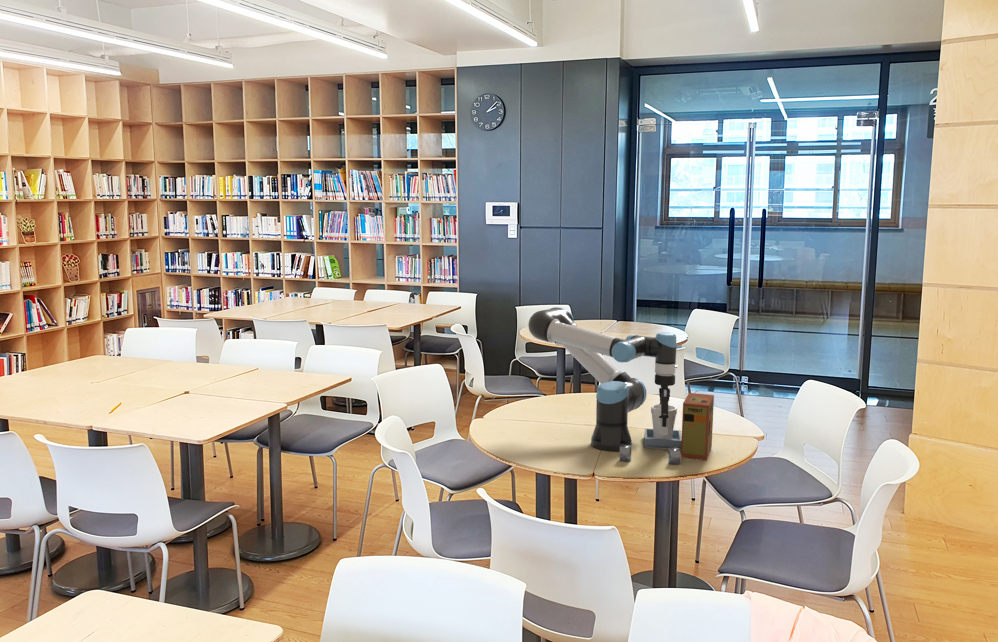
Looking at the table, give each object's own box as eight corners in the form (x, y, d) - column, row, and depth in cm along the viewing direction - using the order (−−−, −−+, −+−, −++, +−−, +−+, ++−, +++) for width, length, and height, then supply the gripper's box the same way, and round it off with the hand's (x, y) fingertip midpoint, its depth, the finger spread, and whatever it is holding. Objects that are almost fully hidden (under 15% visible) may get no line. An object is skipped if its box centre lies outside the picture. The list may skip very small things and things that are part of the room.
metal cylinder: (619, 461, 264) (619, 447, 264) (619, 458, 268) (619, 444, 267) (630, 462, 264) (631, 448, 263) (630, 458, 267) (631, 445, 267)
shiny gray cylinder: (668, 464, 261) (669, 450, 261) (668, 461, 265) (668, 447, 264) (680, 465, 261) (681, 451, 260) (679, 461, 264) (680, 448, 264)
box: (687, 444, 284) (689, 392, 282) (711, 447, 281) (714, 395, 278) (680, 457, 269) (683, 403, 266) (706, 460, 266) (709, 405, 263)
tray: (644, 447, 280) (644, 438, 279) (644, 437, 293) (644, 428, 293) (682, 449, 277) (682, 440, 277) (680, 439, 291) (680, 430, 290)
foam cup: (677, 444, 281) (679, 410, 279) (652, 444, 281) (654, 410, 279) (672, 436, 290) (673, 404, 288) (648, 436, 290) (649, 404, 288)
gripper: (676, 381, 269) (674, 439, 272) (673, 367, 292) (671, 422, 296) (655, 380, 271) (653, 438, 274) (654, 367, 294) (652, 421, 297)
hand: (663, 430), depth 285 cm, fingers open, 12 cm apart
